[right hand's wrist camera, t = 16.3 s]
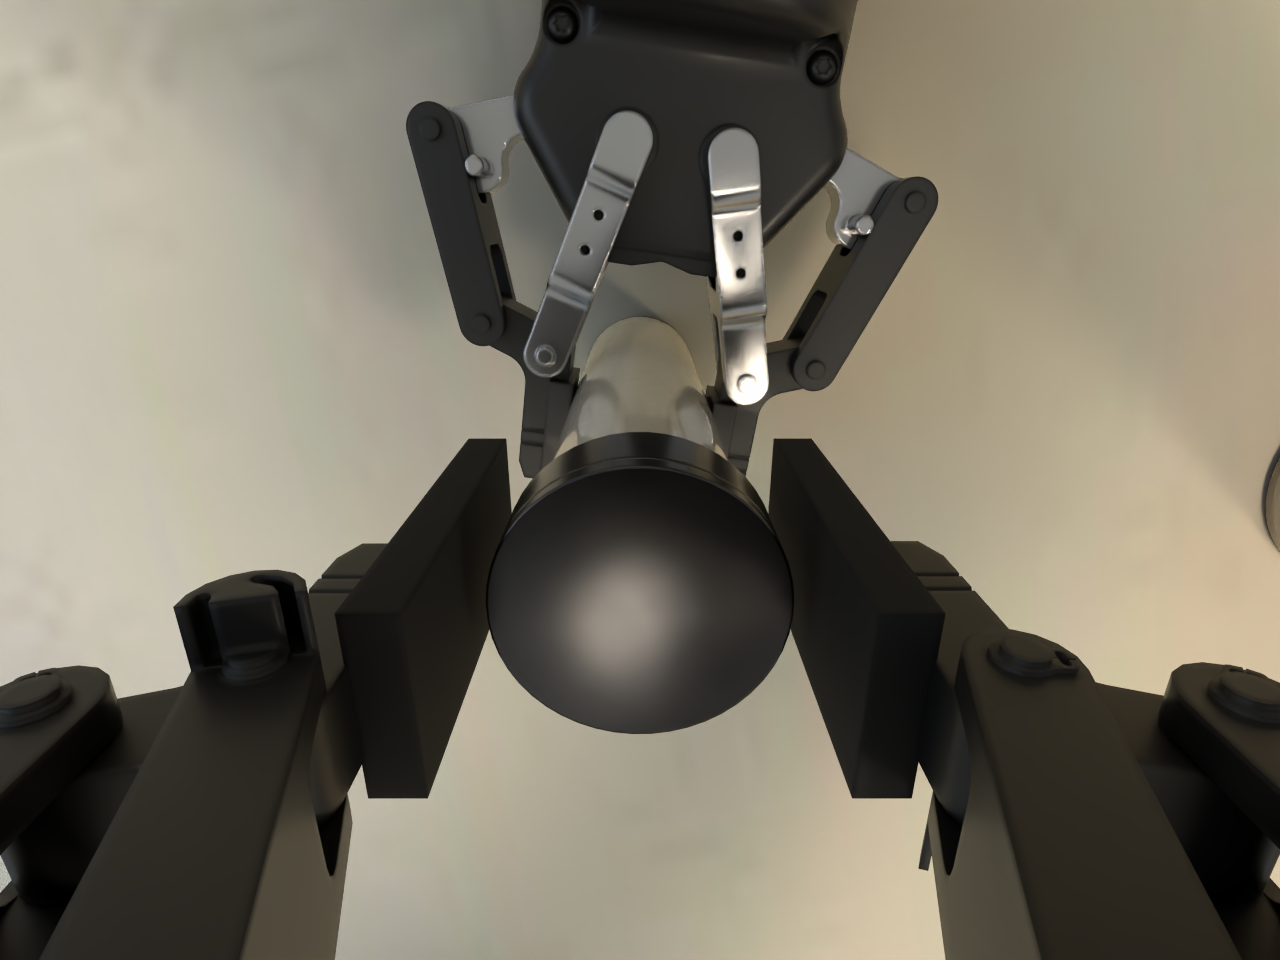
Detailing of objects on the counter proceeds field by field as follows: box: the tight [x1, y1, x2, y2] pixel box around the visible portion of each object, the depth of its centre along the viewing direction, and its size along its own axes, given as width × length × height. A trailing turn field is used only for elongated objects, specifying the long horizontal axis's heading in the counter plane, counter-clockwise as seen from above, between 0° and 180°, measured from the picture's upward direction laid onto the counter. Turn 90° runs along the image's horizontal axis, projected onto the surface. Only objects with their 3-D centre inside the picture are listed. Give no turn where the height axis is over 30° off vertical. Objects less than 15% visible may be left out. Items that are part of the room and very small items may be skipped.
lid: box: [486, 432, 794, 734], centre depth 11 cm, size 5×5×2 cm
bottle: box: [551, 317, 729, 461], centre depth 19 cm, size 4×4×17 cm
